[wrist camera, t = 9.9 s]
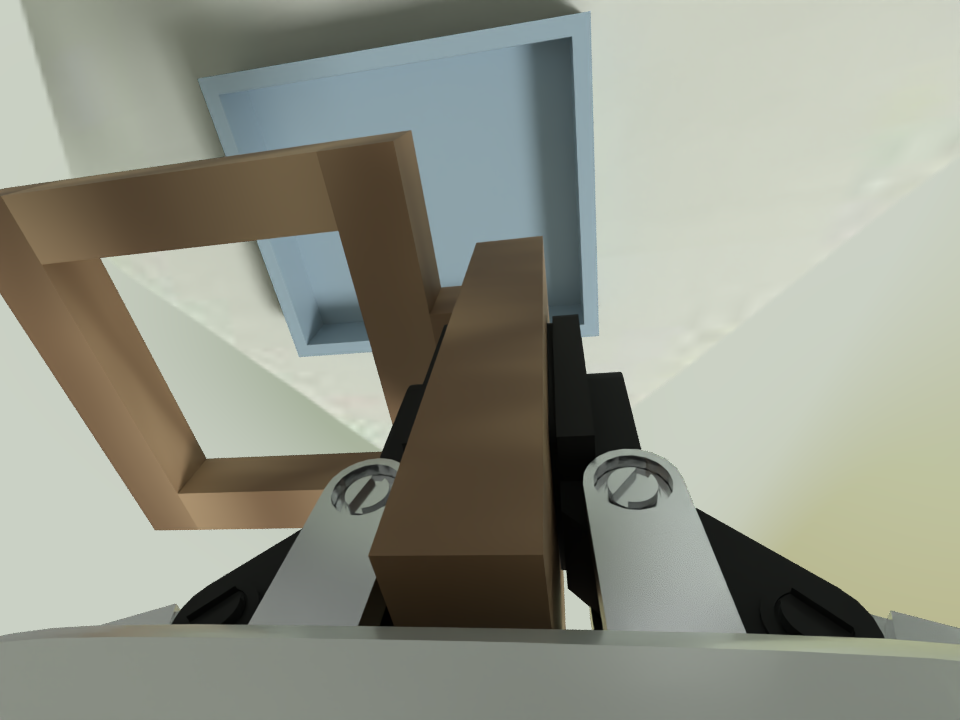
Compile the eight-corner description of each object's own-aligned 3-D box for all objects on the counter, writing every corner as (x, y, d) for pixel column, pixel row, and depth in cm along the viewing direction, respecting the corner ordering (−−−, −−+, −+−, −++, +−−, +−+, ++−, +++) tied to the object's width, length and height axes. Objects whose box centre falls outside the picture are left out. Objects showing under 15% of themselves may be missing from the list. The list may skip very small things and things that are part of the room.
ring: (532, 112, 10) (509, 262, 3) (562, 484, 15) (580, 879, 8) (4, 187, 12) (-784, 389, 5) (184, 494, 17) (-79, 819, 10)
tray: (233, 75, 24) (197, 78, 22) (584, 15, 22) (590, 10, 19) (319, 331, 31) (299, 357, 29) (593, 310, 29) (598, 335, 26)
